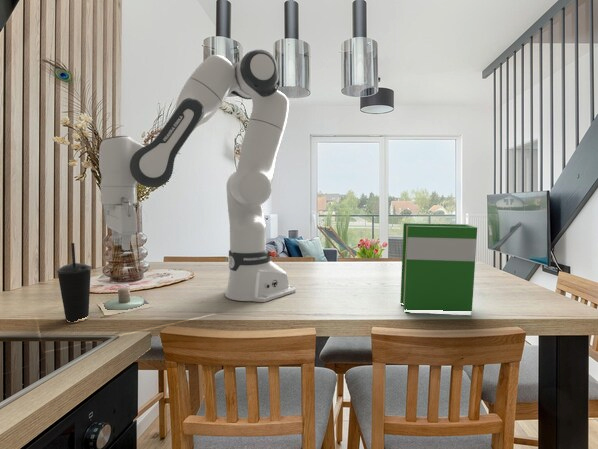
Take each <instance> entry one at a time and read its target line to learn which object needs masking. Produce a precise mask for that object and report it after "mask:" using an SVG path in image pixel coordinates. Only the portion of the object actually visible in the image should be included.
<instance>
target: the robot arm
mask: <svg viewBox="0 0 598 449" xmlns="http://www.w3.org/2000/svg"><path fill="white" fill-rule="evenodd" d="M276 60H277V59H276V58H275V57H274V56H273V54H271V53H270V52H269V51H267V50H265V49H254V50H251V51H248V52H247V53H246V54H245V55H244V56H243V57H242V58H240V60H239V61H237V62H233V61H230V60H229V59H228V58H227V57H225V56H223V55H220V54H211V55H209V56H208V57H207V58H205V59H204V60H203V62H202V63H200V64H199V66H198V67H196V69H195V70H194V71H193V72H192V74H191V75H190V76H189V78H188V79H187V80H186V82H185V83H184V85H183V87H182V88H181V91H180V92H179V95H178V97H177V100H176V104H175V107H174V110H173V113H172V115H171V116H170V118H169V119H168V120H167V122H166V123H165V125H164V126H163V128H162V129H161V130H160V132H158V135H157V136H156V137H155V138H154V139H153V140H152V141H151V142H150V143H149V144H147V145H144V144H142V143H141V142H138V141H136V140H135V139H133V138H132V137H131V136H128V135H115V136H110V137H106V138H105V139H103V140H102V141H101V142H100V146H99V152H98V154H99V155H98V164H99V165H98V168H99V172H100V176H101V180H100V185H99V186H100V203H101V205H103V206H102V207H103V213H104V214H103V215H104V220H105V225H106V227H107V228H109V229H110V230H111V233H112V234H111V235H112V239H113V245H115V246H121V250H122V251H130V250H131V241H132V235H137V231H138V226H137V224H138V223H137V222H138V221H137V212H136V209H135V206H134V204H137V203H138V194H137V193H138V192H137V190H138V188H137V184H139V185H141V186H142V187H143V186H144V187H147V188H157V187H161V186H163V185H165V184H167V183H168V182H169V180H170V179H171V177H172V175H173V172H174V165H175V160H176V157H177V155H178V154H179V152H180V150H182V147H183V145H185V143H186V141H187V140H188V138H190V136H191V134H192V133H193V132H194V131H195V130H196V129H197V128H198V127H199V126H201V125H203V124H205V123H207V122H208V121H209V120H210V119H211V118H212V117H213V116H214V115H216V113H217V112H218V110H219V109H220V108H221V107H222V105H223V104H224V102H225V101H226V99H227V97H228V96H229V95H230V94H231V95H235V96H237V97H239V98H240V99H244V100H251V101H252V108H251V110H252V111H251V113H250V115H249V116H250V117H249V120H248V123H247V126H246V130H245V133H244V136H243V139H242V142H241V146H240V152H239V158H238V163H237V166H236V171H234V172H233V173H231V174H230V175H229V177H228V179H227V181H226V200H227V201H226V202H227V212H228V221H229V250H228V268H229V273H228V275H229V276H228V283H227V287H226V290H225V298H227V299H229V300H233V301H239V302H240V301H241V302H256V303H257V302H258V303H264V302H265V303H266V302H269V301H271V300H272V301H273V300H274V299H279V298H280V297H285V296H287V295H290V294H293V293H296V287H295V286H293V285H292V284H290V283H289V276H288V273H287V272H286V271H285V269H283V268H282V267H280V266H279V265H278V264H276V263H274V262H273V261H272V260H271V259H272V258H273V259H274V258H277V256H278V253H277V251H275V250H268V248H267V225H266V220H265V216H264V209H263V204H264V203H265V202H266V201H268V199H269V198H270V197H271V195H272V190H273V187H272V185H273V179H274V174H275V166H276V160H277V155H278V153H279V150H280V149H279V148H280V145H281V142H282V139H283V136H284V133H285V129H286V126H287V121H288V116H289V107H290V101H289V99H288V97H287V96H286V95H285V94H284V93H283V92H281V91H280V90H279V88H280V86H281V85H280V84H281V82H280V78H279V67H278V63H277V61H276ZM271 257H272V258H271Z"/></svg>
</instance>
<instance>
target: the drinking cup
mask: <svg viewBox="0 0 598 449" xmlns="http://www.w3.org/2000/svg"><path fill="white" fill-rule="evenodd" d="M70 244H71V245H70V246H71V247H70V248H71V260H72V261H71V262H72V263H68V264H65V265H63V266H61V267H59V268H57V269H56V271H55V272H56V274H57V278H58V283H59V289H60V293H61V301H62V307H63V311H64V317H65V320H66V319H67V320H68V321H70V322H74V321H77V320H78V319H82V318H85V317H87V316H88V315H89V314H90V292H91V291H90V290H91V274H92V272H91V271H92V269H93V267H92V266H91V265H89V264H85V263H80V262H76V248H75V242H71V243H70Z"/></svg>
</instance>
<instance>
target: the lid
mask: <svg viewBox="0 0 598 449" xmlns="http://www.w3.org/2000/svg"><path fill="white" fill-rule="evenodd" d="M141 297H142V296H134V295H132V296H131V289H130V288H129V287H122V288H118V289H117V297H115V298H112V299H109V300H107V301H106V302H104V303H105V304H104V307H105V309H107V310H128V309H133V308H137V307H140V306H142V305H144V300H145V299H144V298H143V297H142V298H141Z"/></svg>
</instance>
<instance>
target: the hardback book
mask: <svg viewBox="0 0 598 449" xmlns="http://www.w3.org/2000/svg"><path fill="white" fill-rule="evenodd" d="M402 229H403V230H402V233H403V234H402V252H401V277H400V303H403V304H404V305H403V310H404V309H405V310H406V309H407V310H443V311H472V312H473V303H474V302H473V301H474V289H475V287H474V284H475V272H476V271H475V270H476V256H477V255H476V254H477V241H478V240H477V237H478V226H477V227H476V226H474V225H472V224H471V225H470V224H468V223H467V224H465V223H464V224H463V223H460V224H459V223H421V222H420V223H419V222H418V223H417V222H412V223H411V222H403V228H402ZM400 303H399V304H400Z"/></svg>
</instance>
